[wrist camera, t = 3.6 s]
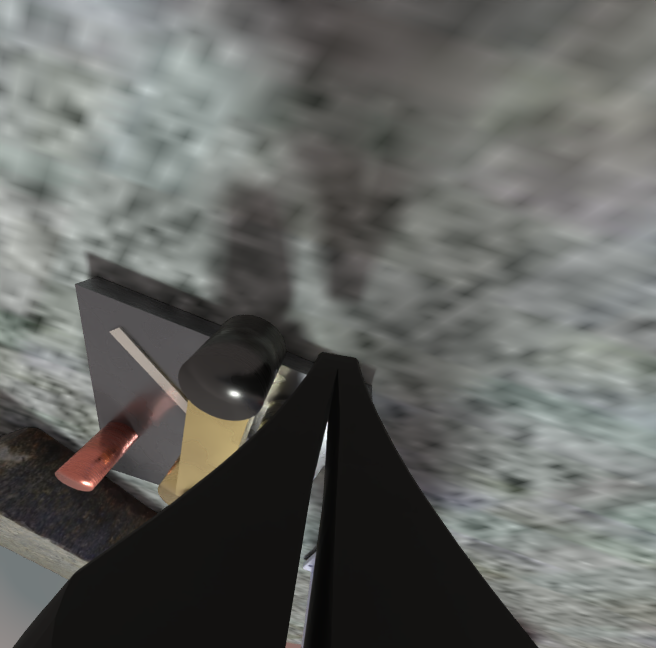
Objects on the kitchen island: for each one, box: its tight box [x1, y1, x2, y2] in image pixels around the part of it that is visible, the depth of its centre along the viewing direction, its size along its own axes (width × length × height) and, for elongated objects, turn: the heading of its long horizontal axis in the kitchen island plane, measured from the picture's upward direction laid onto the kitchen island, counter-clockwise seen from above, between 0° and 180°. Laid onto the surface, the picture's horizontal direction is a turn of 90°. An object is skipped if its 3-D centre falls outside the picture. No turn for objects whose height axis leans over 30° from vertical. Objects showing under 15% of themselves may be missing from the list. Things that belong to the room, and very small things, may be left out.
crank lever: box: [158, 315, 286, 505], centre depth 11 cm, size 12×4×3 cm, turn 158°
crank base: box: [55, 277, 372, 491], centre depth 14 cm, size 16×14×4 cm
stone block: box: [0, 427, 157, 580], centre depth 22 cm, size 14×20×5 cm
